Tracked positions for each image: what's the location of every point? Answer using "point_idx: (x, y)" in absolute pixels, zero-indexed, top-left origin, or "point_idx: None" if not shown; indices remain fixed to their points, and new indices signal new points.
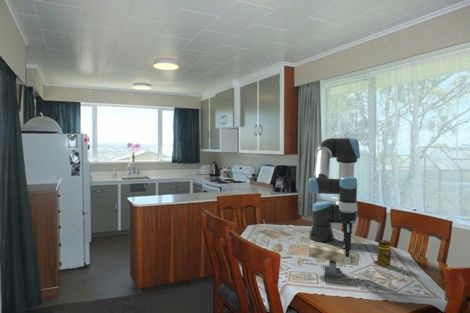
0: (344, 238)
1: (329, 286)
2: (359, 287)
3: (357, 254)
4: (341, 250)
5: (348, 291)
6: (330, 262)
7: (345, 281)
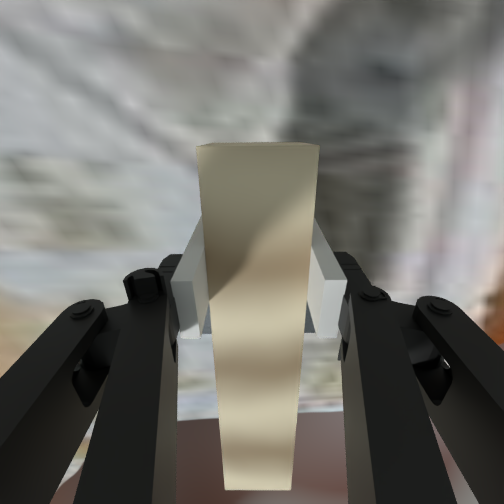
0: (174, 420)
1: (413, 277)
2: (420, 133)
3: (263, 165)
4: (227, 317)
5: (470, 197)
6: (311, 327)
7: (345, 207)
